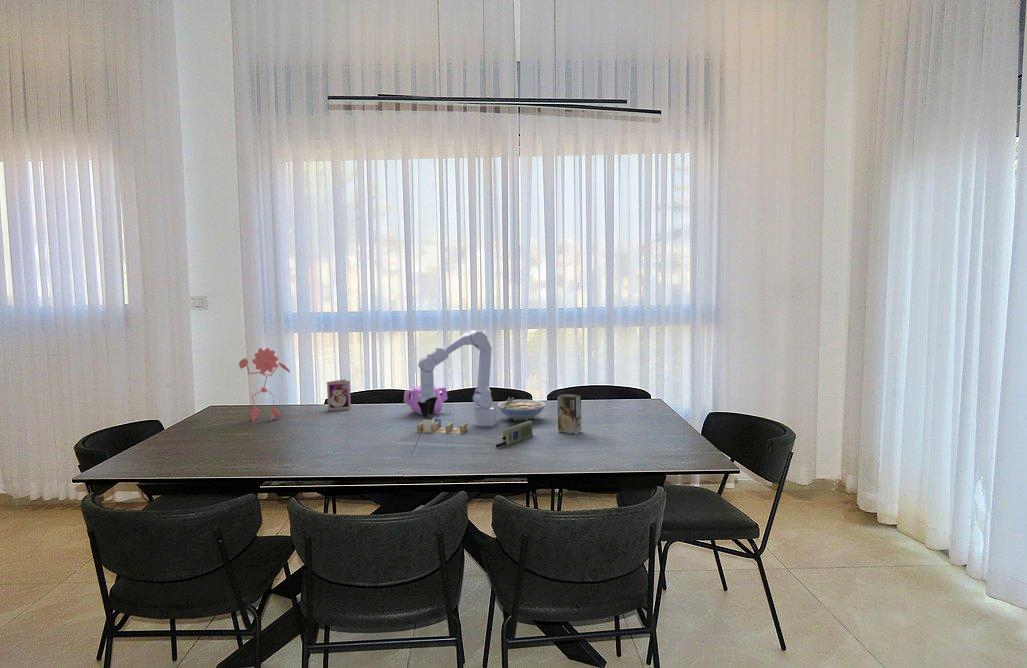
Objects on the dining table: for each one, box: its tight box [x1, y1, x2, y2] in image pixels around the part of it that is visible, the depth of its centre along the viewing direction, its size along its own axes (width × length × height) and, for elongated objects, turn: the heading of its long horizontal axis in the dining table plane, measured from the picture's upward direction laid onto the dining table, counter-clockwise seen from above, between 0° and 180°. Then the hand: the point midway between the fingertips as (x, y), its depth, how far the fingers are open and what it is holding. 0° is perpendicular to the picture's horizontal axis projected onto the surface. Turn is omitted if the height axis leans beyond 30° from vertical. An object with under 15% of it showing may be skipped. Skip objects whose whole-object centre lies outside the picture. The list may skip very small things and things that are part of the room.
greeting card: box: [326, 378, 352, 412], centre depth 337 cm, size 11×7×15 cm, turn 104°
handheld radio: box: [495, 420, 534, 449], centre depth 265 cm, size 7×3×25 cm
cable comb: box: [416, 417, 469, 435], centre depth 283 cm, size 20×11×5 cm, turn 80°
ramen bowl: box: [497, 396, 546, 421], centre depth 307 cm, size 25×23×8 cm
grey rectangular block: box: [422, 415, 436, 431], centre depth 283 cm, size 4×4×6 cm
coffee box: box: [556, 393, 583, 434], centre depth 280 cm, size 9×6×16 cm
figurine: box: [238, 347, 291, 422], centre depth 315 cm, size 15×26×35 cm, turn 86°
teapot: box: [403, 385, 449, 415], centre depth 323 cm, size 19×18×15 cm
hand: (428, 415), depth 283 cm, fingers open, 7 cm apart
